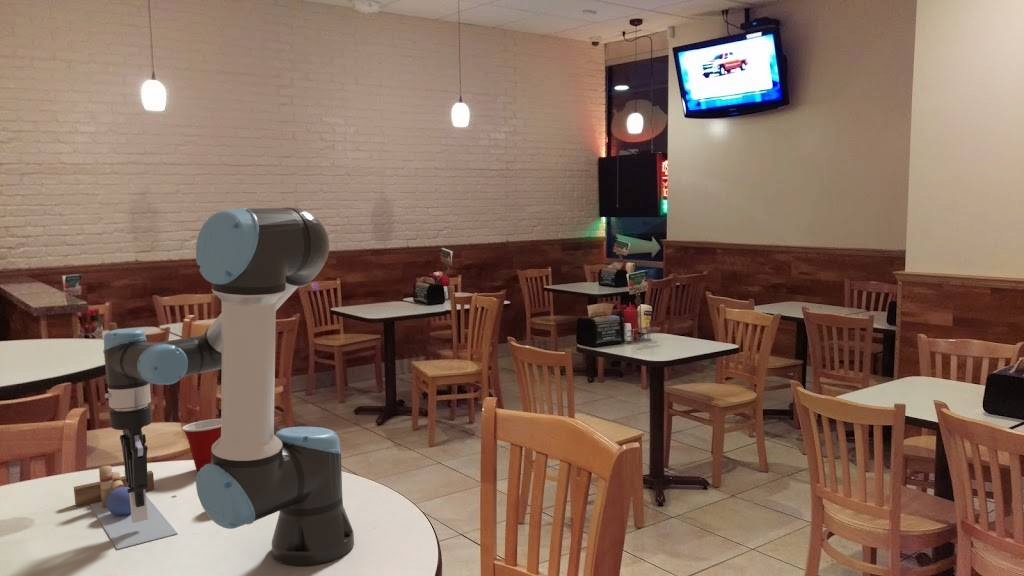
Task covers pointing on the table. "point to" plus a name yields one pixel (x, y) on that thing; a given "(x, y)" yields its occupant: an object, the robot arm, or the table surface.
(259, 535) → the table surface
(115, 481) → the pin front
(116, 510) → the ball
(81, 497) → the backstop
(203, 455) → the plastic cup
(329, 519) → the robot arm
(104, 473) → the pin left
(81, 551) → the table surface
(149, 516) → the plate
